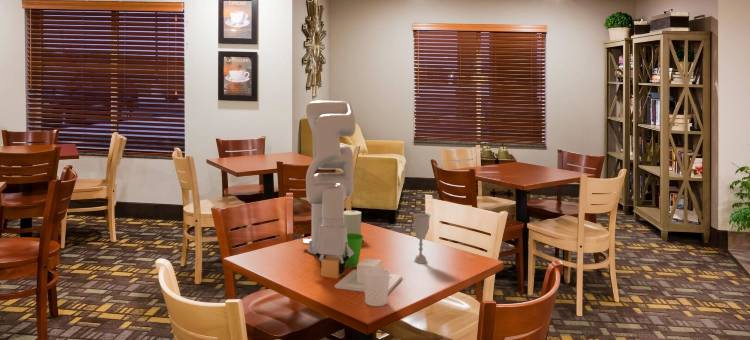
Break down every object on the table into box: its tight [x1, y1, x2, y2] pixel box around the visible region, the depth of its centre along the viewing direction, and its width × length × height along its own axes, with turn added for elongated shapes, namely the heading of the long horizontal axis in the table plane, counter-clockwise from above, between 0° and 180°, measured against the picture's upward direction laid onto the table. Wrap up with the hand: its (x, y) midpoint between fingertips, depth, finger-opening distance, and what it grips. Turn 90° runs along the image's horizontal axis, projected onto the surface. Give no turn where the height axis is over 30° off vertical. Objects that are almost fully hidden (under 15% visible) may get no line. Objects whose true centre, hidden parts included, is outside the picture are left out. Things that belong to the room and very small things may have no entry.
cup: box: [345, 233, 364, 268], centre depth 226 cm, size 9×9×11 cm
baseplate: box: [334, 269, 403, 294], centre depth 207 cm, size 18×18×1 cm
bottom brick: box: [356, 257, 383, 283], centre depth 206 cm, size 6×8×6 cm
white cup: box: [364, 267, 391, 307], centre depth 188 cm, size 8×8×10 cm
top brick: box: [320, 255, 345, 279], centre depth 215 cm, size 6×6×6 cm
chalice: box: [412, 212, 432, 264], centre depth 232 cm, size 7×7×18 cm
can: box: [344, 209, 362, 235], centre depth 265 cm, size 9×9×12 cm
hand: (332, 271), depth 215 cm, fingers closed on top brick, 6 cm apart
